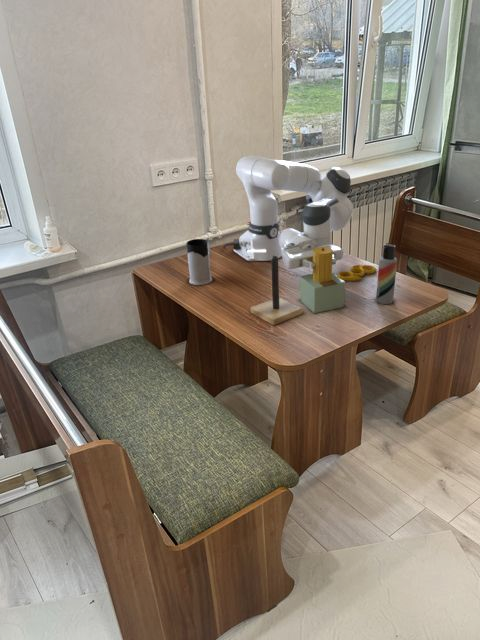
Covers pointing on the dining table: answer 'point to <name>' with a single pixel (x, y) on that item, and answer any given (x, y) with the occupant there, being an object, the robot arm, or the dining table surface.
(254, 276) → the dining table surface
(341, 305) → the display block
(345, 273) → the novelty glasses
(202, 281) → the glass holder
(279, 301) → the peg stand
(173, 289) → the dining table surface
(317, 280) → the slatted lidded canister
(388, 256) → the lotion bottle
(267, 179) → the robot arm
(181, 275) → the dining table surface
